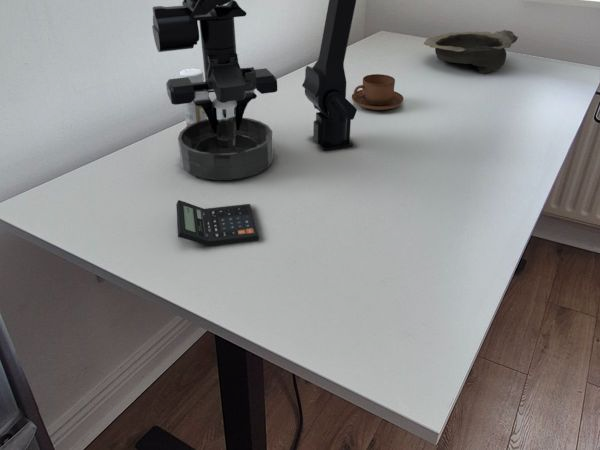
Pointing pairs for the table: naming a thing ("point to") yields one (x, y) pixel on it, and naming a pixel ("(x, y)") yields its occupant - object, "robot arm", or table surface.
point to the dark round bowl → (226, 150)
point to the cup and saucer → (377, 93)
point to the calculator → (216, 224)
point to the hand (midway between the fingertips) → (226, 131)
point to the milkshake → (225, 122)
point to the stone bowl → (473, 48)
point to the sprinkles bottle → (191, 110)
